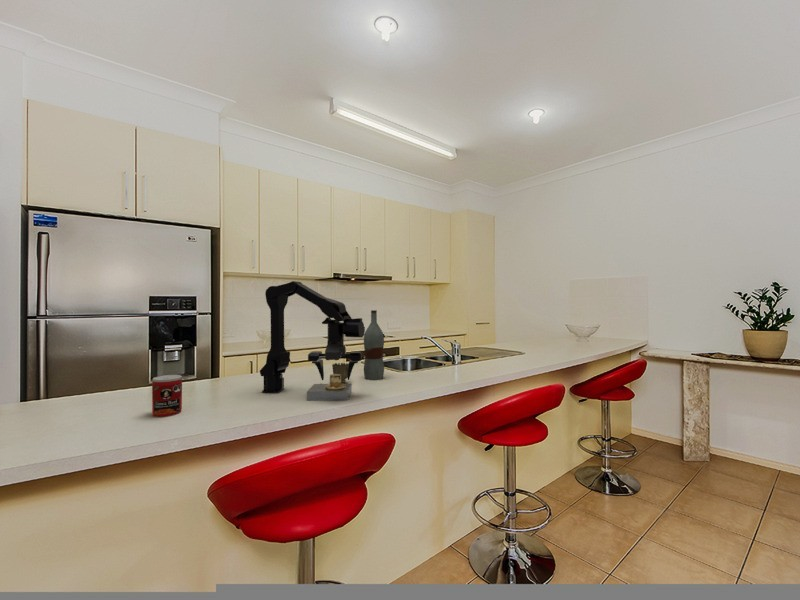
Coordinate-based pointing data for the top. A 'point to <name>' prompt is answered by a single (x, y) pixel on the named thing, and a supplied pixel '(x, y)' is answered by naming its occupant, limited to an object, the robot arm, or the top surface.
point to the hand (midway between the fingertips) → (335, 380)
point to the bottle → (373, 350)
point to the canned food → (166, 395)
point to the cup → (341, 370)
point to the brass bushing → (335, 382)
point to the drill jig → (328, 393)
